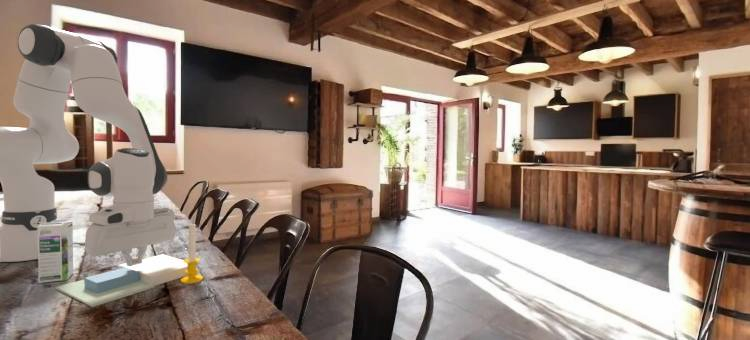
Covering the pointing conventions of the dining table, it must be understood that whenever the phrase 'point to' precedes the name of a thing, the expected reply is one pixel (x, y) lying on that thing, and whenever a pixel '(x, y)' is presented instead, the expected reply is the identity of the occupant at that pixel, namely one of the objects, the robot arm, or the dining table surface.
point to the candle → (192, 259)
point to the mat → (96, 299)
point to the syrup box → (55, 251)
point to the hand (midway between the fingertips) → (134, 264)
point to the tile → (111, 280)
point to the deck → (159, 269)
